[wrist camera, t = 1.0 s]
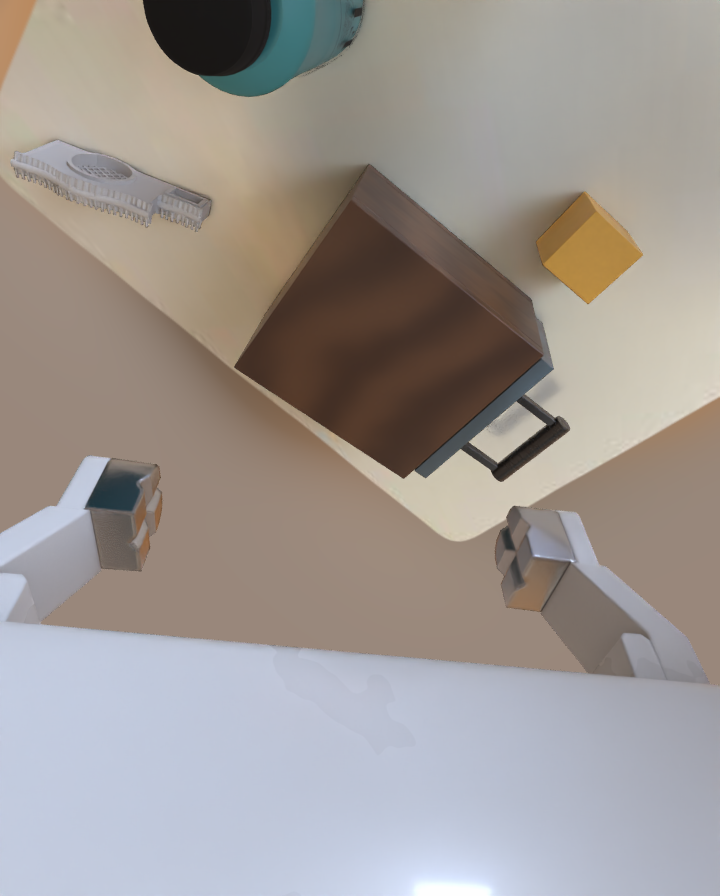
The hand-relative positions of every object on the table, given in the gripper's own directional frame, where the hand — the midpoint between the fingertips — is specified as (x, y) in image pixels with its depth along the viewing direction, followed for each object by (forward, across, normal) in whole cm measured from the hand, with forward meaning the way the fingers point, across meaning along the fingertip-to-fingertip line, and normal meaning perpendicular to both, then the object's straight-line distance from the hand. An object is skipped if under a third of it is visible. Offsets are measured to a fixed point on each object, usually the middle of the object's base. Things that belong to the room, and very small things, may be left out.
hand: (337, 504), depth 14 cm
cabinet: (+33, -5, +10) cm, 35 cm away
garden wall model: (+36, +16, +5) cm, 40 cm away
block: (+32, -17, +2) cm, 36 cm away
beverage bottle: (+34, +4, -8) cm, 35 cm away
